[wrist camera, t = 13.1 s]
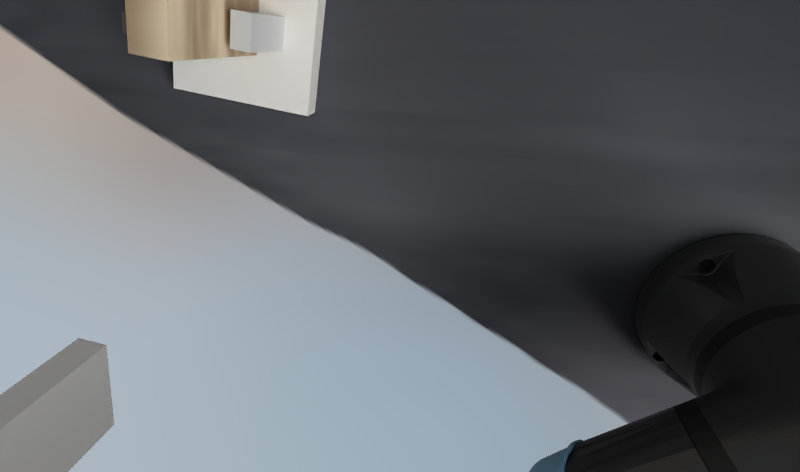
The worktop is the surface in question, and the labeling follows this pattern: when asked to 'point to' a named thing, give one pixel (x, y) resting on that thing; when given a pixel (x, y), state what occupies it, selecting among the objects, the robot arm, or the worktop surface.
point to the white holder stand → (264, 58)
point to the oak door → (182, 28)
